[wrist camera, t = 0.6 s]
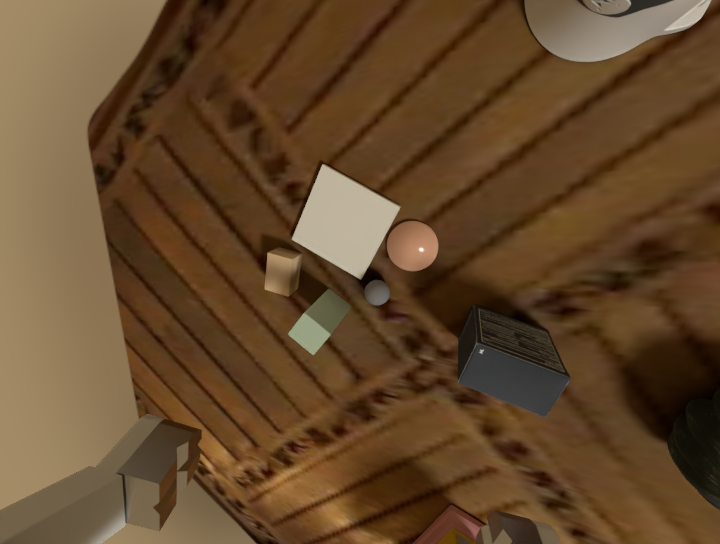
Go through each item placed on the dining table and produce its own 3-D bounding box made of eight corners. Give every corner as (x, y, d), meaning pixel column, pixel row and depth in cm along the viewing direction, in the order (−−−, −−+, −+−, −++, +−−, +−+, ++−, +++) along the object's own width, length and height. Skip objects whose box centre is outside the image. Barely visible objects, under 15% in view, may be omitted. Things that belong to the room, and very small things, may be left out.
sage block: (328, 288, 53) (304, 312, 45) (351, 306, 53) (330, 334, 45) (314, 307, 55) (287, 334, 47) (335, 325, 55) (313, 355, 47)
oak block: (279, 246, 53) (267, 252, 50) (302, 253, 53) (292, 259, 49) (276, 281, 56) (264, 289, 52) (298, 288, 55) (288, 296, 52)
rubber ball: (374, 272, 50) (368, 280, 47) (396, 284, 50) (391, 293, 46) (364, 291, 51) (357, 300, 48) (384, 303, 51) (379, 313, 48)
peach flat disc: (402, 211, 46) (401, 211, 46) (448, 236, 46) (448, 237, 45) (379, 253, 49) (378, 255, 49) (422, 278, 49) (421, 280, 48)
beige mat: (324, 164, 47) (322, 164, 46) (400, 206, 46) (399, 207, 45) (294, 238, 52) (291, 239, 51) (362, 277, 51) (360, 279, 50)
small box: (456, 341, 50) (454, 385, 40) (472, 302, 47) (475, 340, 38) (529, 368, 48) (545, 421, 39) (550, 330, 46) (573, 377, 36)
